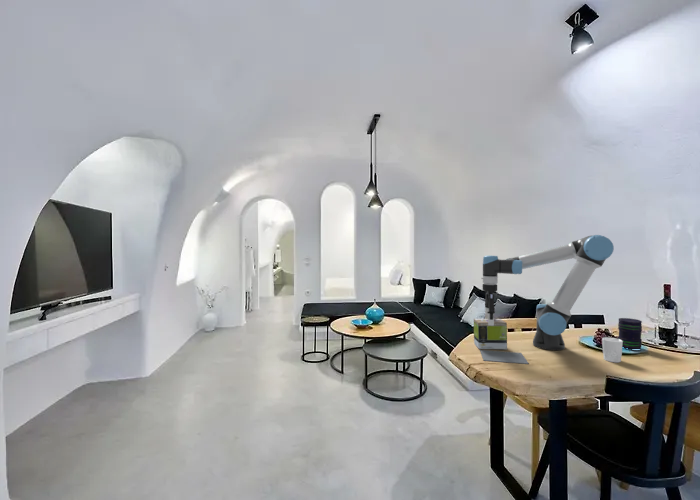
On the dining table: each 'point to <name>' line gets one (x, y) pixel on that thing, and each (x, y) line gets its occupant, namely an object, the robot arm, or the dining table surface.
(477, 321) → the tea box
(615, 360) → the white cup
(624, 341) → the storage jar
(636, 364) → the dining table surface
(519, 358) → the mat
